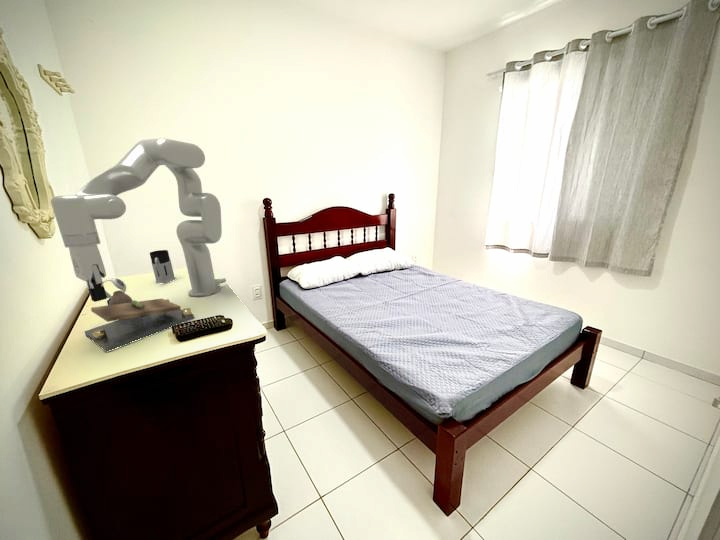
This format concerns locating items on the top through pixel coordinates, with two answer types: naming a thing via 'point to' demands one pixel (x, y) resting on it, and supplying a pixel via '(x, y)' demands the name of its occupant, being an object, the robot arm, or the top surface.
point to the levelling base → (136, 328)
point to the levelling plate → (134, 309)
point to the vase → (120, 298)
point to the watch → (118, 284)
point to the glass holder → (162, 266)
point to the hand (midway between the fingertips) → (99, 299)
